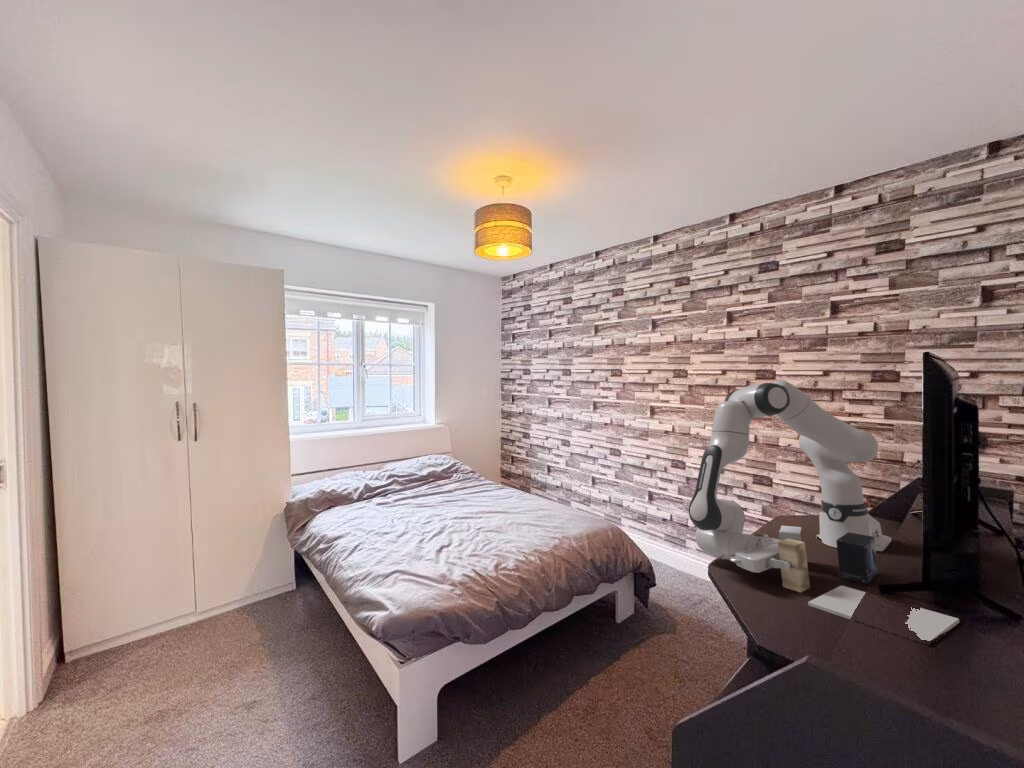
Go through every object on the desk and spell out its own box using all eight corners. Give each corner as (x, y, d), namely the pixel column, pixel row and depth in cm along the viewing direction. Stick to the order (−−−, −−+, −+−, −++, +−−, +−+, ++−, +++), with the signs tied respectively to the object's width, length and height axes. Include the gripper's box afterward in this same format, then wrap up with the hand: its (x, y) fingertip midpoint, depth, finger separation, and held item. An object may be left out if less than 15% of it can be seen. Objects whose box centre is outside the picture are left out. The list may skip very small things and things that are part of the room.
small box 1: (805, 570, 123) (800, 533, 124) (782, 567, 126) (778, 531, 127) (806, 561, 129) (802, 526, 130) (784, 558, 133) (781, 524, 133)
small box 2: (869, 585, 111) (864, 545, 111) (839, 578, 116) (834, 540, 117) (880, 574, 117) (875, 535, 118) (851, 568, 122) (846, 531, 123)
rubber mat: (841, 588, 110) (841, 585, 110) (959, 622, 91) (958, 618, 91) (808, 605, 102) (807, 602, 103) (928, 646, 83) (928, 642, 83)
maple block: (792, 582, 115) (787, 538, 116) (810, 588, 111) (804, 542, 112) (782, 586, 113) (777, 541, 114) (800, 592, 109) (795, 545, 110)
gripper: (723, 547, 120) (772, 560, 107) (766, 532, 129) (815, 543, 117) (726, 569, 119) (775, 585, 107) (768, 553, 129) (818, 566, 117)
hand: (797, 563), depth 112 cm, fingers closed on maple block, 4 cm apart
